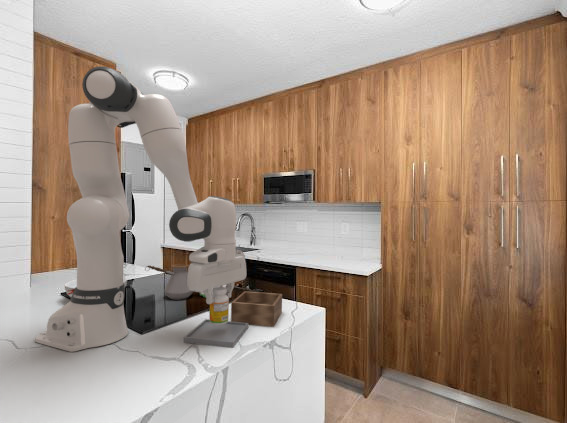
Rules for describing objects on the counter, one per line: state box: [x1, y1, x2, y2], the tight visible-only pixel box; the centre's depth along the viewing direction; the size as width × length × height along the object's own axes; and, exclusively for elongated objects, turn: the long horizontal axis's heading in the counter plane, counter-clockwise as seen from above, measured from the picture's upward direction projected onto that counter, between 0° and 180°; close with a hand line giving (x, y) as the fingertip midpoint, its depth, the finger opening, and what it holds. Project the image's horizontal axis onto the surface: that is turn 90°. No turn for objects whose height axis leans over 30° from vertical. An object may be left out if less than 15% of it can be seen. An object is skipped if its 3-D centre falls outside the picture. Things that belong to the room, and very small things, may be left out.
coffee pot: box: [144, 263, 194, 301], centre depth 120 cm, size 21×12×15 cm, turn 151°
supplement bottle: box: [208, 287, 230, 325], centre depth 88 cm, size 5×5×10 cm
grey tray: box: [183, 318, 249, 349], centre depth 88 cm, size 14×14×1 cm
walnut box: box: [230, 290, 283, 328], centre depth 103 cm, size 14×14×6 cm
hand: (219, 300), depth 88 cm, fingers closed on supplement bottle, 5 cm apart
